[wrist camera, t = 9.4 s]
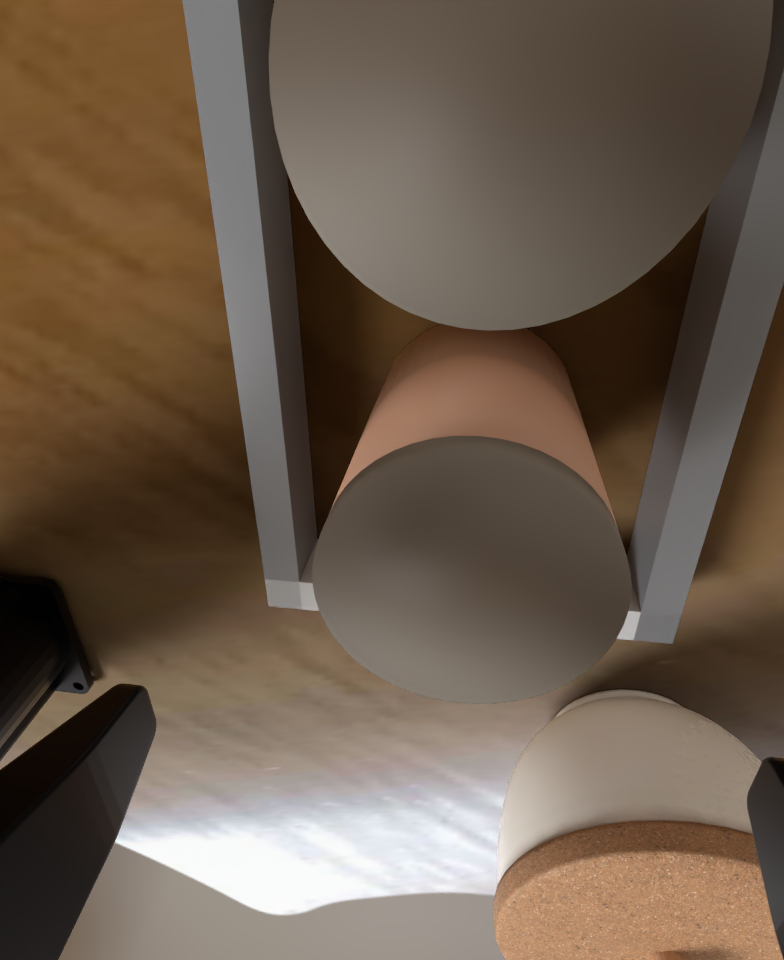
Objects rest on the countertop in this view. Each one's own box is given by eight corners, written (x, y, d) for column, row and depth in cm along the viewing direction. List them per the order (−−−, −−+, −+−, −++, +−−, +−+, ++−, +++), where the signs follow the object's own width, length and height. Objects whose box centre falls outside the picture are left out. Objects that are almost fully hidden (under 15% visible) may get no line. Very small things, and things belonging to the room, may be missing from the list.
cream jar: (601, 240, 16) (699, 337, 9) (379, 237, 17) (291, 324, 9) (646, -53, 13) (859, -299, 6) (375, -41, 14) (238, -243, 6)
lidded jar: (524, 622, 23) (543, 885, 15) (811, 676, 22) (992, 980, 14) (471, 788, 29) (464, 1047, 20) (701, 836, 28) (788, 1121, 20)
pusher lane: (170, -476, 11) (83, -641, 9) (974, -586, 10) (1137, -827, 7) (289, 562, 23) (265, 611, 21) (654, 592, 22) (675, 650, 19)
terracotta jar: (559, 499, 20) (601, 718, 13) (382, 487, 21) (322, 687, 13) (588, 319, 17) (663, 467, 10) (379, 313, 18) (300, 446, 10)
